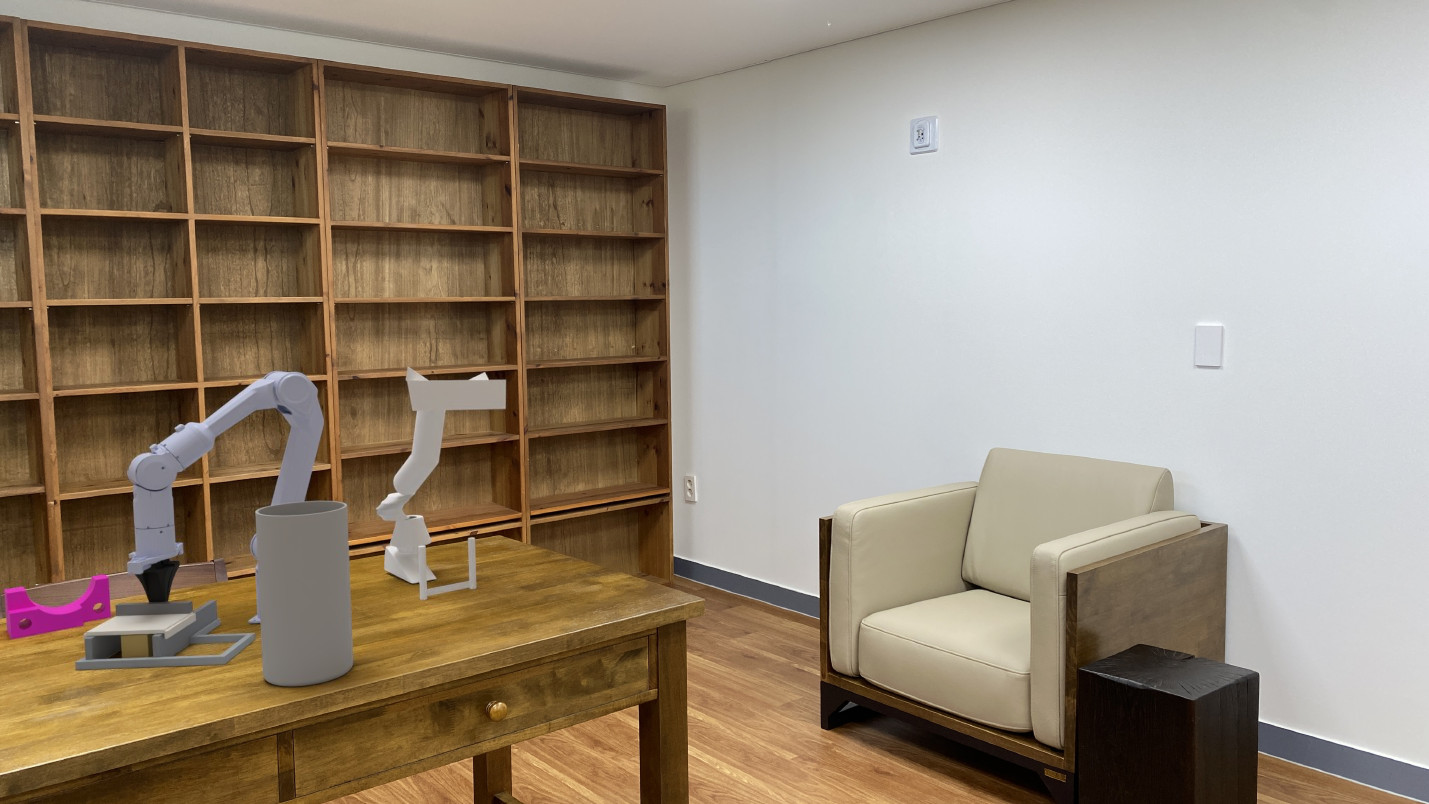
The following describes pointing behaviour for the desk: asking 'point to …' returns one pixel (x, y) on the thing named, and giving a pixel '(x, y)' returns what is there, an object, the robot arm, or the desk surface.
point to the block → (137, 645)
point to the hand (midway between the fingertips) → (159, 606)
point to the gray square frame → (167, 645)
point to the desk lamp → (430, 417)
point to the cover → (147, 619)
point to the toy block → (55, 610)
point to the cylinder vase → (304, 592)
